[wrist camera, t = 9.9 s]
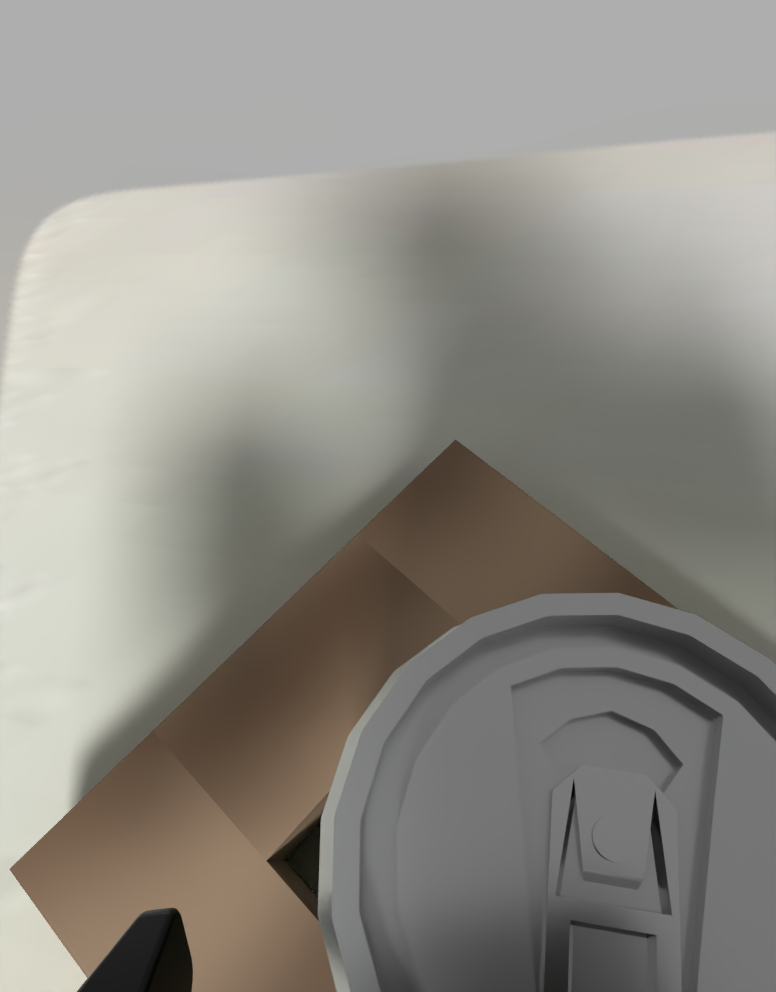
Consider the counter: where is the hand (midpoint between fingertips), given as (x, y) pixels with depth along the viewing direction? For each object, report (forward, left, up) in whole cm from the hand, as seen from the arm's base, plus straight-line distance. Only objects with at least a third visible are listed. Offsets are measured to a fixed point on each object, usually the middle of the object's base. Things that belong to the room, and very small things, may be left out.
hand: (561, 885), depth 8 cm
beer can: (0, 0, -9) cm, 9 cm away
